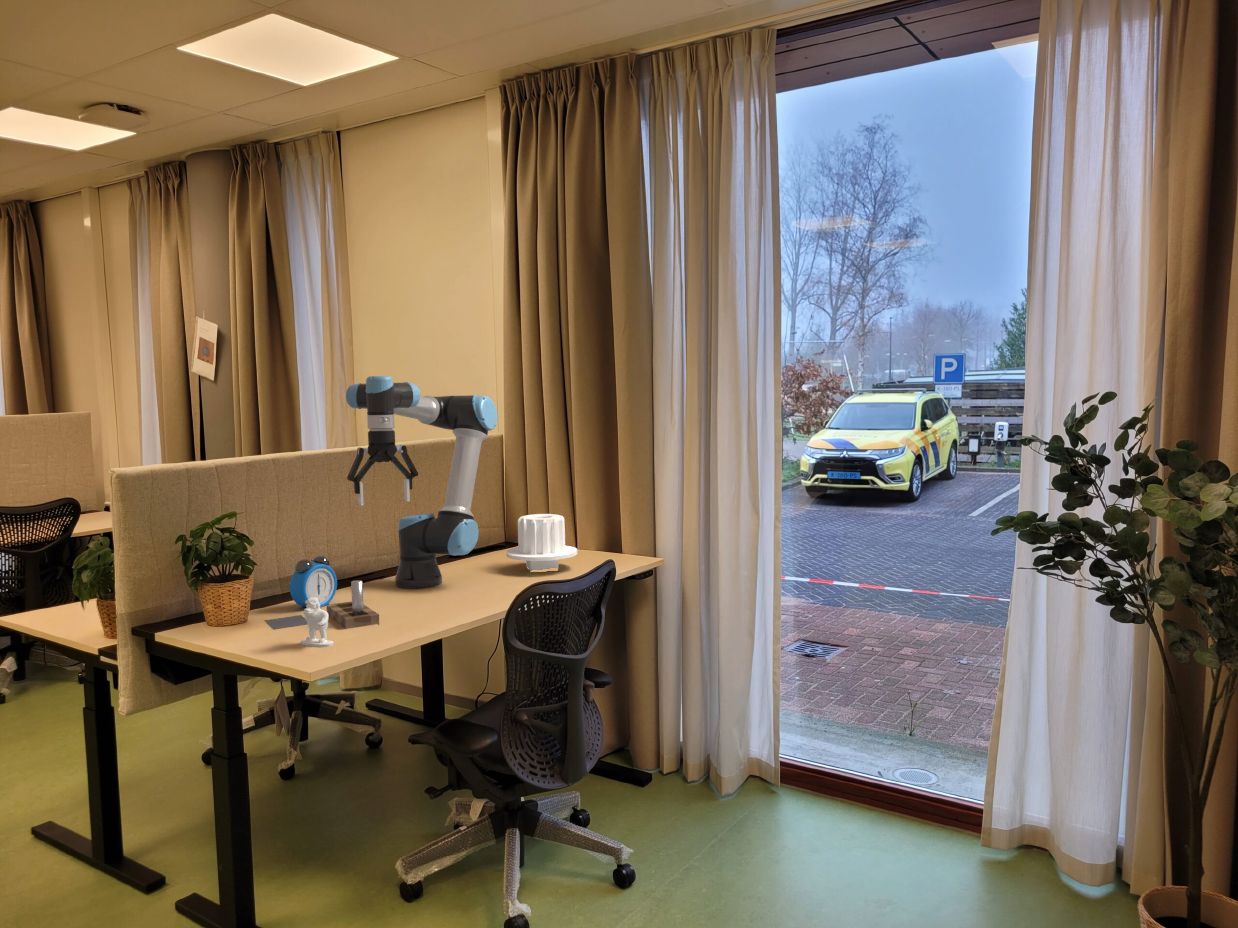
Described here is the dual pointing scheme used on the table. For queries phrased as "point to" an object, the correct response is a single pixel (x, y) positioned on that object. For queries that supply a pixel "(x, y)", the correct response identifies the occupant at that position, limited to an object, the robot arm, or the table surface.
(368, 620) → the hole block
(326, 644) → the figurine
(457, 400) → the robot arm
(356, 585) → the pin
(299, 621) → the mat
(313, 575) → the alarm clock
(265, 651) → the table surface
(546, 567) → the flanged gear
